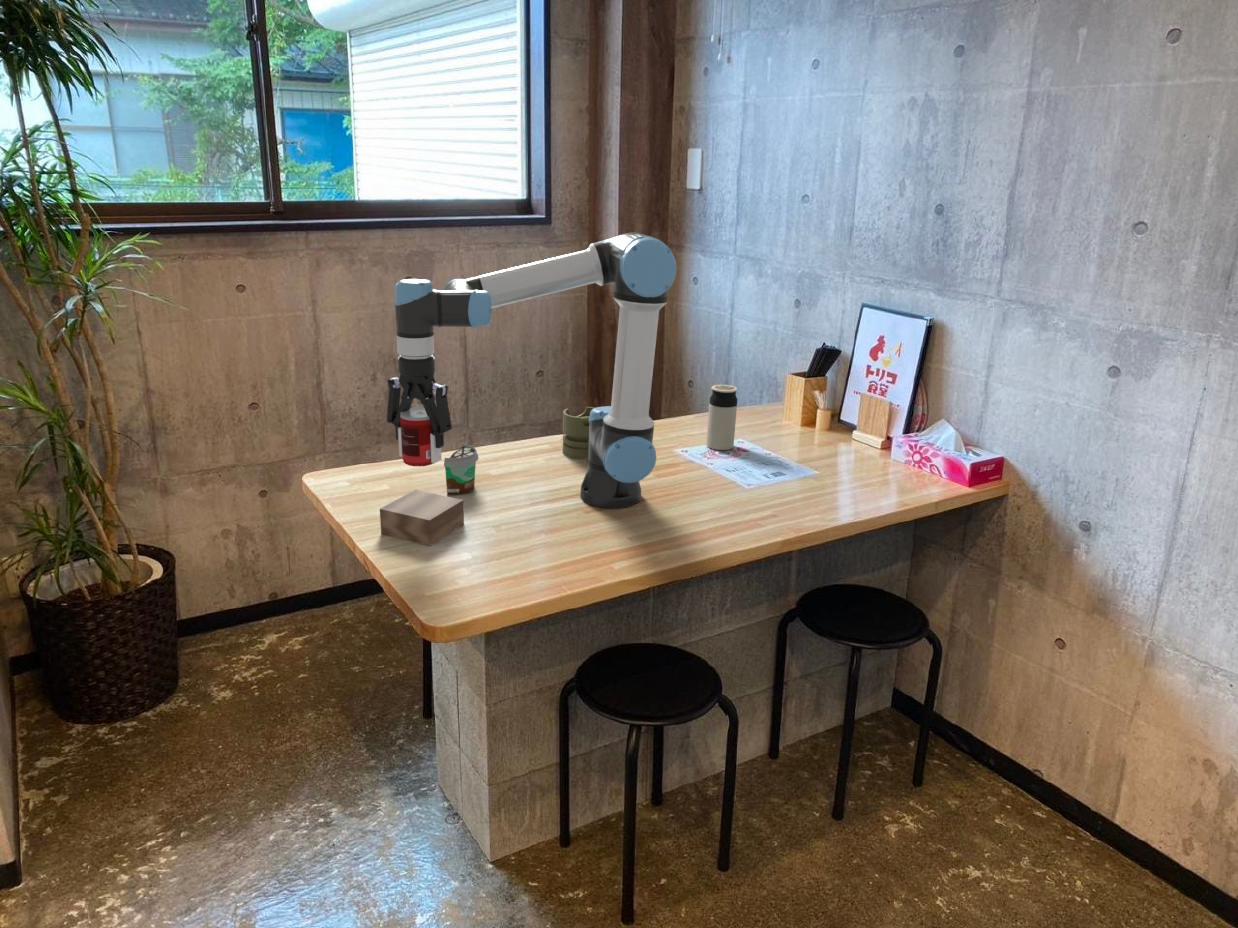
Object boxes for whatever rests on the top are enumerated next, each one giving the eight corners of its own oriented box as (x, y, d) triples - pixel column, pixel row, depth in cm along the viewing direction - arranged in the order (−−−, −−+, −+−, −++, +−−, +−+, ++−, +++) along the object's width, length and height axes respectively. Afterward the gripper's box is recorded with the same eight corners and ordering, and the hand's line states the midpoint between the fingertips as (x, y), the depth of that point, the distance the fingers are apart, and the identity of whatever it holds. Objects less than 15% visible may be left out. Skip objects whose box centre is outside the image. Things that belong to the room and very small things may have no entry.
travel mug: (734, 451, 257) (739, 391, 251) (707, 450, 257) (711, 390, 251) (731, 443, 264) (736, 384, 258) (705, 441, 264) (709, 383, 258)
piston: (610, 416, 244) (572, 419, 240) (608, 456, 248) (571, 461, 244) (593, 405, 254) (557, 408, 249) (592, 444, 258) (556, 448, 253)
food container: (468, 499, 215) (467, 461, 211) (444, 496, 216) (443, 458, 212) (486, 482, 226) (485, 445, 223) (463, 479, 227) (462, 443, 224)
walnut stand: (463, 524, 201) (463, 500, 199) (430, 545, 190) (429, 520, 187) (416, 513, 206) (415, 489, 204) (381, 533, 194) (379, 508, 192)
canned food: (440, 454, 196) (438, 407, 192) (436, 467, 189) (434, 418, 185) (405, 454, 195) (403, 406, 192) (399, 467, 188) (397, 417, 184)
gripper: (467, 357, 184) (470, 460, 191) (387, 346, 191) (392, 445, 199) (447, 364, 177) (450, 471, 185) (364, 352, 185) (370, 455, 192)
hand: (420, 457), depth 192 cm, fingers closed on canned food, 8 cm apart
